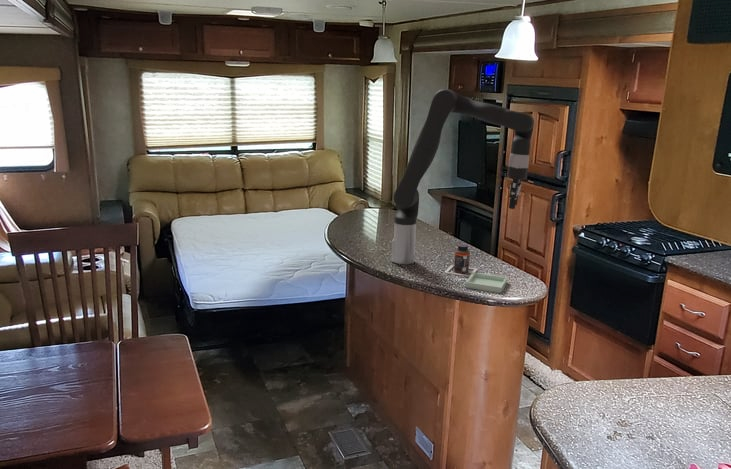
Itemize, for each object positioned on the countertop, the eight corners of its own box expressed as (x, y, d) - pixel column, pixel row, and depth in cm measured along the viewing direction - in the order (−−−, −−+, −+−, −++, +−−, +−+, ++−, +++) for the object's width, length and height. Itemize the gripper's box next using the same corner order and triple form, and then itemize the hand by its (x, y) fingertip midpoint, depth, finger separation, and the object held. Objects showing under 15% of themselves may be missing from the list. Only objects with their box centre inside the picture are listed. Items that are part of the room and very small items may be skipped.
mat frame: (443, 273, 233) (444, 272, 233) (451, 266, 243) (451, 264, 243) (471, 277, 229) (471, 276, 229) (477, 269, 239) (477, 268, 239)
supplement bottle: (468, 274, 233) (470, 247, 230) (453, 273, 234) (455, 246, 231) (468, 270, 239) (470, 244, 236) (454, 269, 240) (456, 242, 237)
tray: (464, 287, 217) (465, 282, 217) (473, 277, 229) (473, 272, 229) (500, 293, 212) (501, 287, 211) (507, 282, 224) (507, 277, 224)
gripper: (510, 163, 229) (505, 203, 233) (506, 166, 216) (500, 208, 220) (529, 165, 227) (524, 205, 230) (526, 168, 213) (520, 211, 217)
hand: (512, 206), depth 225 cm, fingers open, 8 cm apart
